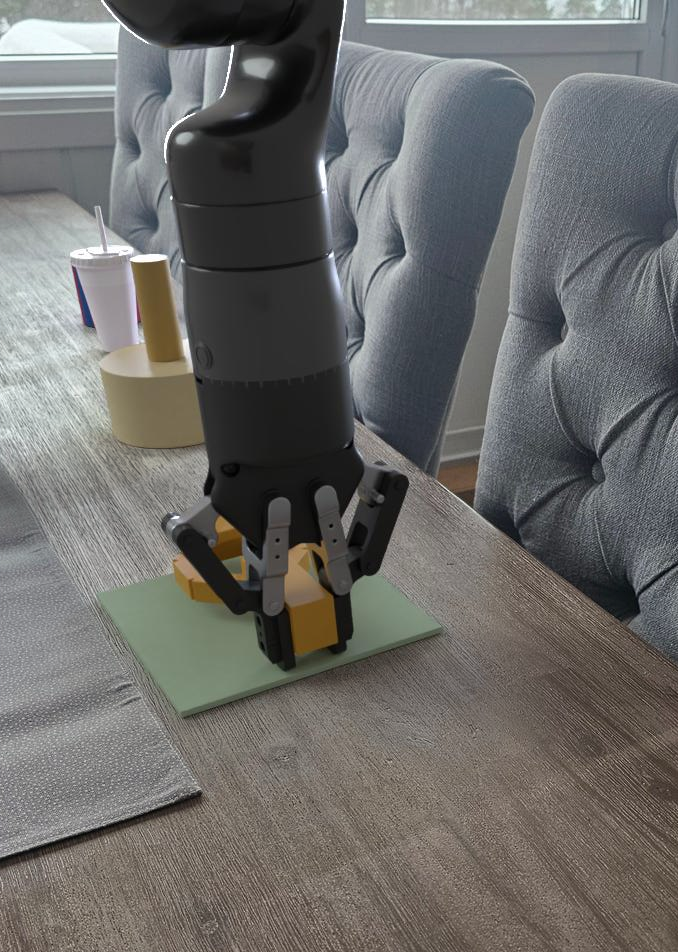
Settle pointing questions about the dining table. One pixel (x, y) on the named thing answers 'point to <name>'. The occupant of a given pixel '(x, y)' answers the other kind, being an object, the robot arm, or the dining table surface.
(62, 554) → the dining table surface
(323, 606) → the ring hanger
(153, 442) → the stand
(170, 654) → the mat
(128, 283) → the smoothie
